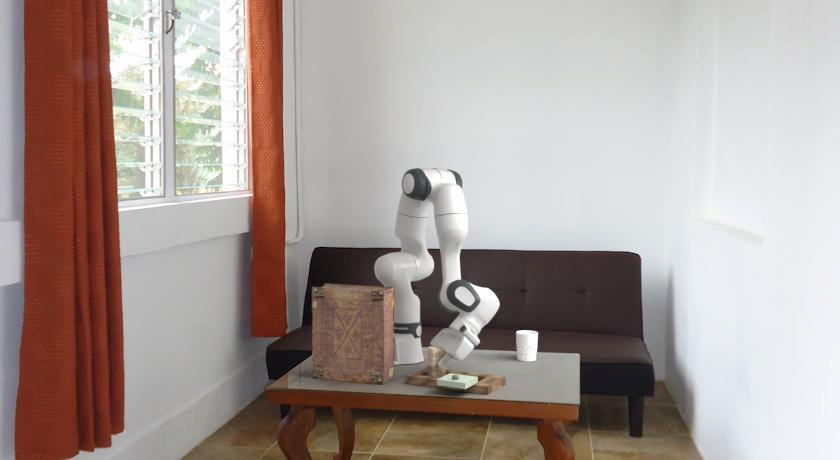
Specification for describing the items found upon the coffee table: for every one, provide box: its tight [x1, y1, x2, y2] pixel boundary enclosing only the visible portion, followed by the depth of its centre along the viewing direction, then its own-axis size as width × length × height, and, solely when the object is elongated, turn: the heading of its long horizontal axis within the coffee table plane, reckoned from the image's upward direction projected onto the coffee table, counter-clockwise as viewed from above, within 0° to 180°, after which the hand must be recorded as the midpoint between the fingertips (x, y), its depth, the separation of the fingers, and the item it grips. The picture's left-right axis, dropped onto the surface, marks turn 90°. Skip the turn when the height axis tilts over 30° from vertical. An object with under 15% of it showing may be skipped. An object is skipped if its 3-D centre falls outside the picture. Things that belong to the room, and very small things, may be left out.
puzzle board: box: [406, 367, 507, 396], centre depth 272 cm, size 28×14×2 cm, turn 62°
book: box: [311, 283, 395, 385], centre depth 278 cm, size 25×9×30 cm, turn 70°
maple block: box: [426, 346, 447, 378], centre depth 274 cm, size 4×4×11 cm
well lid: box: [437, 373, 478, 389], centre depth 261 cm, size 10×9×3 cm
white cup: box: [515, 329, 539, 363], centre depth 307 cm, size 8×8×10 cm
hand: (434, 363), depth 274 cm, fingers closed on maple block, 4 cm apart
